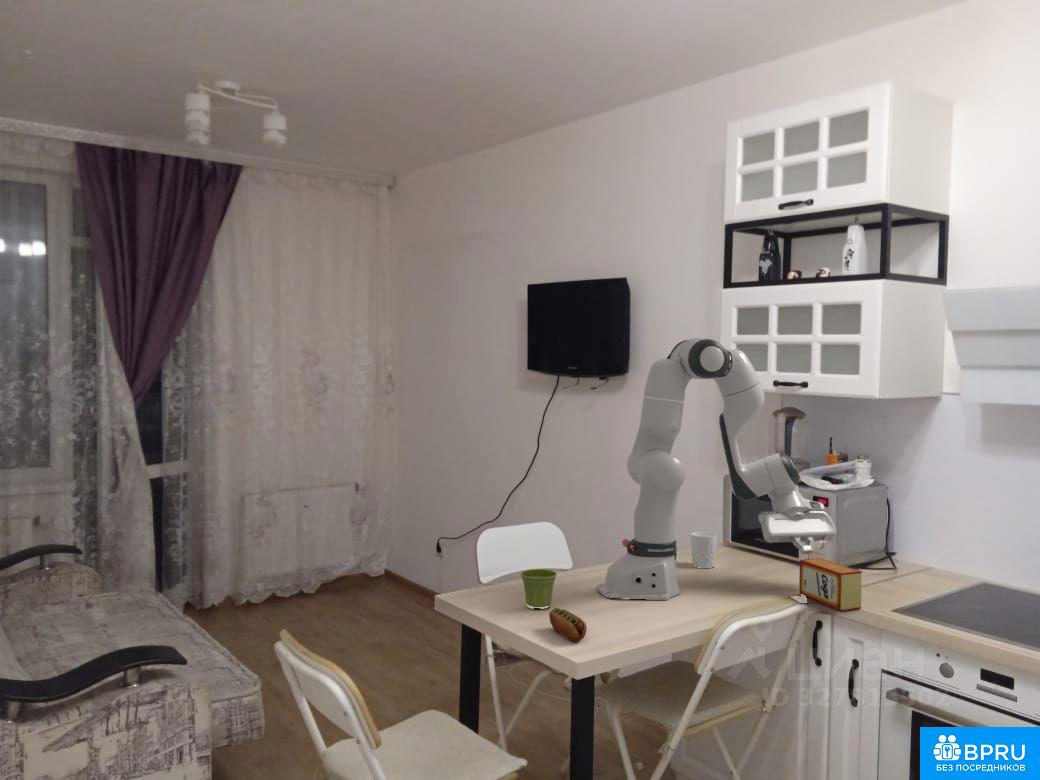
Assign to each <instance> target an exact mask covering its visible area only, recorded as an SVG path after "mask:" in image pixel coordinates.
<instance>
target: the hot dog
mask: <svg viewBox="0 0 1040 780" xmlns="http://www.w3.org/2000/svg"><path fill="white" fill-rule="evenodd" d="M548 613H549V614H548V617H549V621H550V625H551V627H552V628H553V630H554V629H555V630H554V631H556V632H557V633H558V632H559V633H560V634H562V635H563V636H565V637H566V638H565V637H564V638H565V639H567V638H568V639H567V640H569V639H570V640H569V641H571V640H572V641H571V642H579V641H582V640H583V639H584V637H585V636H586V633H587V629H588V627H587V623H586V622H585V620H583V619H582V617H580V616H578V615H576V614H575V613H574V612H571V611H568V610H566V609H560V608H557V607H555V608H553V609H552V610H551V611H550V612H548ZM559 633H558V634H559ZM560 634H559V635H560ZM562 635H561V636H562ZM563 636H562V637H563Z"/></svg>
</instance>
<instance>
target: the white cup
mask: <svg viewBox="0 0 1040 780" xmlns="http://www.w3.org/2000/svg"><path fill="white" fill-rule="evenodd" d="M717 537H718V535H717V533H714V532H709V531H694V532H691V533H690V543H691V544H690V546H691V547H690V549H691V560H692V561H691V563H692V564H691V565H693V566H696V567H701V568H710V569H713V568H712V567H714V566H715V564H716V558H717V557H716V555H717V541H718V539H717ZM693 566H692V567H693ZM696 567H695V568H696ZM701 568H700V569H701ZM714 568H715V567H714Z"/></svg>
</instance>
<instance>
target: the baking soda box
mask: <svg viewBox="0 0 1040 780" xmlns="http://www.w3.org/2000/svg"><path fill="white" fill-rule="evenodd" d="M798 580H799V587H798V588H799V593H800V594H803V595H805V596H806V598H808V599H811V600H814V601H816V602H819V603H818V604H822V605H824V606H825V607H826V606H827V607H829V608H832V609H834V610H837V611H839V612H844V611H852V610H859V609H862V571H861V570H858V569H854V568H851V567H848V566H845V565H842V564H840V563H835V562H833V561H829V560H826V559H823V558H820V557H818V558H809V559H800V560H799V579H798ZM799 593H798V594H799Z"/></svg>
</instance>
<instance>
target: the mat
mask: <svg viewBox="0 0 1040 780" xmlns="http://www.w3.org/2000/svg"><path fill="white" fill-rule="evenodd" d="M811 604H813V605H814V604H820V603H819V602H816V601H814V600H811V599H808V598H807V604H806V605H811Z"/></svg>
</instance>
